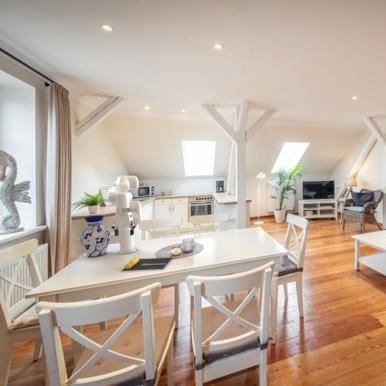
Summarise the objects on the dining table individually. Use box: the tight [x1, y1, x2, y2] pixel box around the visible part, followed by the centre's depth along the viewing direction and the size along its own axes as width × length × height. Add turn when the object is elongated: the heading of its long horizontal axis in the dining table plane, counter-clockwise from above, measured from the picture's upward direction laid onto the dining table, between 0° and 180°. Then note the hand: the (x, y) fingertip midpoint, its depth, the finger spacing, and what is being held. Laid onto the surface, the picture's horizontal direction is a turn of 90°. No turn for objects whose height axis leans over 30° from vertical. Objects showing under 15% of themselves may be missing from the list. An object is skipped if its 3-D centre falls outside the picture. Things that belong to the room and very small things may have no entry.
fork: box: [141, 263, 166, 266], centre depth 156 cm, size 16×2×1 cm, turn 97°
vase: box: [79, 215, 112, 258], centre depth 174 cm, size 19×19×30 cm
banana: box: [124, 256, 140, 269], centre depth 155 cm, size 15×4×4 cm, turn 7°
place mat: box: [121, 257, 173, 272], centre depth 157 cm, size 20×26×1 cm
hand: (124, 235), depth 153 cm, fingers open, 9 cm apart
